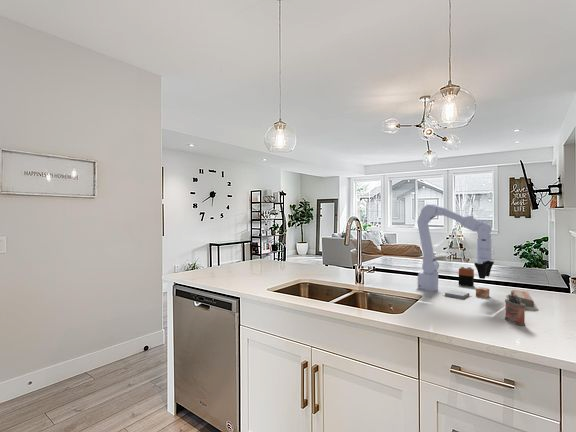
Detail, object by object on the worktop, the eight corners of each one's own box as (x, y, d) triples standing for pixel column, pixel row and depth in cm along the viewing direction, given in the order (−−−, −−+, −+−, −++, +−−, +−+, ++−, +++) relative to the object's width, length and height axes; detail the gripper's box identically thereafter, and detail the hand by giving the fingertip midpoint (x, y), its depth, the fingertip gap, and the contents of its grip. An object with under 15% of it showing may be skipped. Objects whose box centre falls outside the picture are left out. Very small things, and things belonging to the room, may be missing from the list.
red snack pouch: (502, 318, 126) (502, 292, 126) (510, 318, 126) (511, 292, 126) (518, 326, 118) (519, 298, 118) (527, 326, 118) (528, 298, 118)
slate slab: (444, 295, 157) (444, 292, 157) (451, 293, 163) (451, 290, 163) (463, 299, 151) (463, 295, 151) (469, 296, 157) (469, 292, 157)
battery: (472, 286, 179) (472, 268, 179) (458, 285, 184) (458, 267, 183) (473, 285, 183) (474, 267, 182) (460, 283, 187) (460, 266, 187)
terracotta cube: (475, 297, 157) (475, 288, 157) (479, 296, 160) (479, 286, 160) (486, 299, 154) (486, 290, 154) (489, 297, 157) (489, 288, 157)
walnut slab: (441, 299, 157) (441, 295, 157) (450, 295, 164) (450, 292, 164) (464, 303, 150) (464, 299, 150) (472, 299, 157) (472, 296, 157)
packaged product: (506, 288, 157) (532, 291, 152) (505, 298, 157) (531, 301, 152) (509, 297, 141) (538, 300, 136) (509, 308, 141) (538, 311, 136)
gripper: (489, 250, 149) (489, 280, 149) (497, 248, 160) (497, 276, 160) (472, 249, 154) (472, 278, 154) (481, 247, 165) (481, 274, 165)
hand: (484, 277), depth 157 cm, fingers open, 7 cm apart
